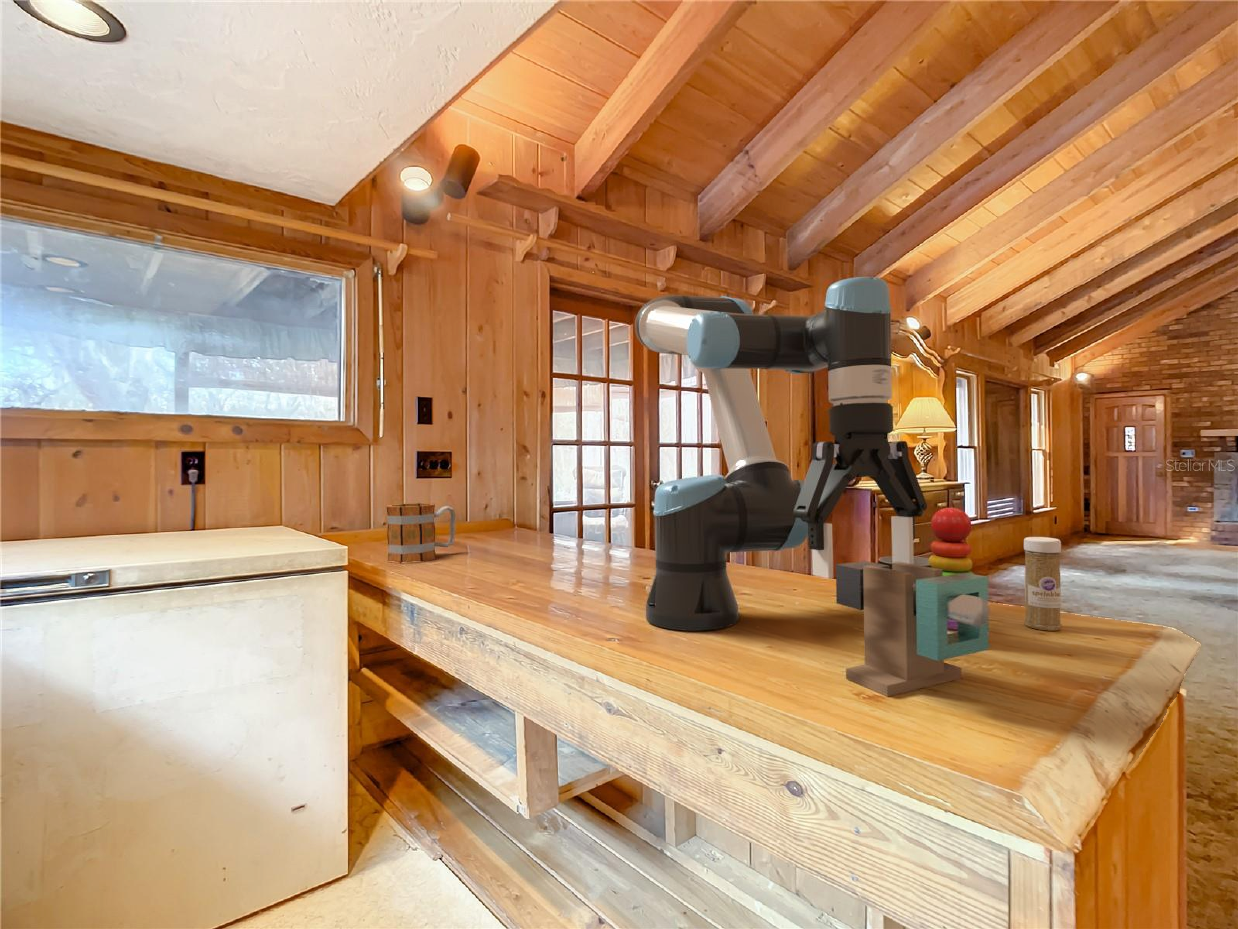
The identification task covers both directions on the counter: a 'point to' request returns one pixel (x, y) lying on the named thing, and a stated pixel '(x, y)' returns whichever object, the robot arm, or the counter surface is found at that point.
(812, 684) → the counter surface
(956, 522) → the stacking toy
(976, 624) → the shaft
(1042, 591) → the sprinkles bottle
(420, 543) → the mug
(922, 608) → the spacer
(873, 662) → the bearing block
